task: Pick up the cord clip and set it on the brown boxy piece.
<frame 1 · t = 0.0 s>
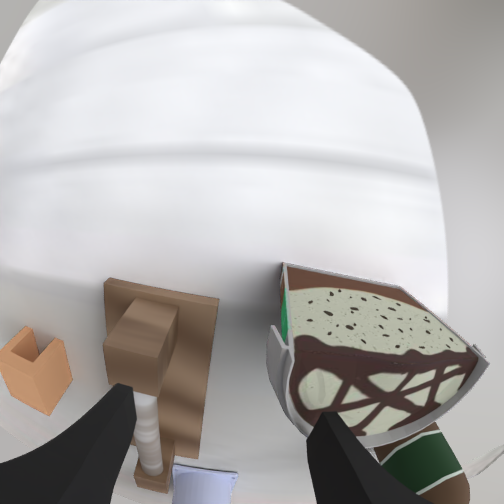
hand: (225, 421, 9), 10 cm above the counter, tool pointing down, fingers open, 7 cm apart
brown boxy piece: (160, 389, 21), on the counter
beer bottle: (397, 423, 25), on the counter
cord clip: (48, 353, 20), on the counter
food container: (332, 313, 19), on the counter
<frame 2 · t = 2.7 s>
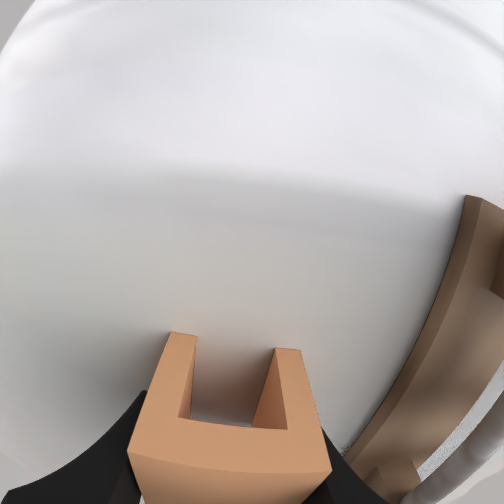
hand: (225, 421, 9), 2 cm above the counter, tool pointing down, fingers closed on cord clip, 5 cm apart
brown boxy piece: (440, 387, 12), on the counter
cord clip: (227, 387, 11), on the counter, touching gripper
when the fingers open (5 cm above the counter, at t = 6.3 s): cord clip drops 1 cm, resting on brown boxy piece.
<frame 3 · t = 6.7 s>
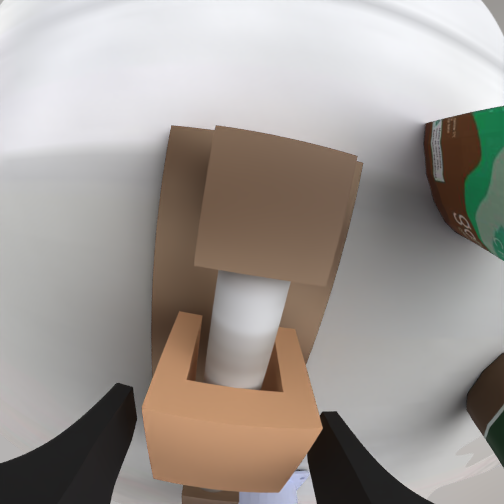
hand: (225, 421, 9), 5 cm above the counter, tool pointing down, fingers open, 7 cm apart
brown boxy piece: (230, 342, 14), on the counter
beer bottle: (489, 379, 18), on the counter
cord clip: (229, 365, 12), point 2 cm above the counter, touching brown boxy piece
food container: (468, 204, 13), on the counter
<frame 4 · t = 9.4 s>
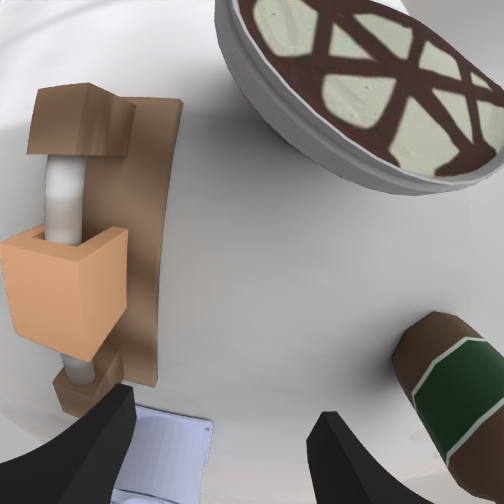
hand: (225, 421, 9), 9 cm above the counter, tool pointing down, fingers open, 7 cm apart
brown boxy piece: (105, 254, 17), on the counter
beer bottle: (424, 345, 20), on the counter
cord clip: (90, 263, 15), point 2 cm above the counter, touching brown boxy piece
food container: (321, 127, 15), on the counter
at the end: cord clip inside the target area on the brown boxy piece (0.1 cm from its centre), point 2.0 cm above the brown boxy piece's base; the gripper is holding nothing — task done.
